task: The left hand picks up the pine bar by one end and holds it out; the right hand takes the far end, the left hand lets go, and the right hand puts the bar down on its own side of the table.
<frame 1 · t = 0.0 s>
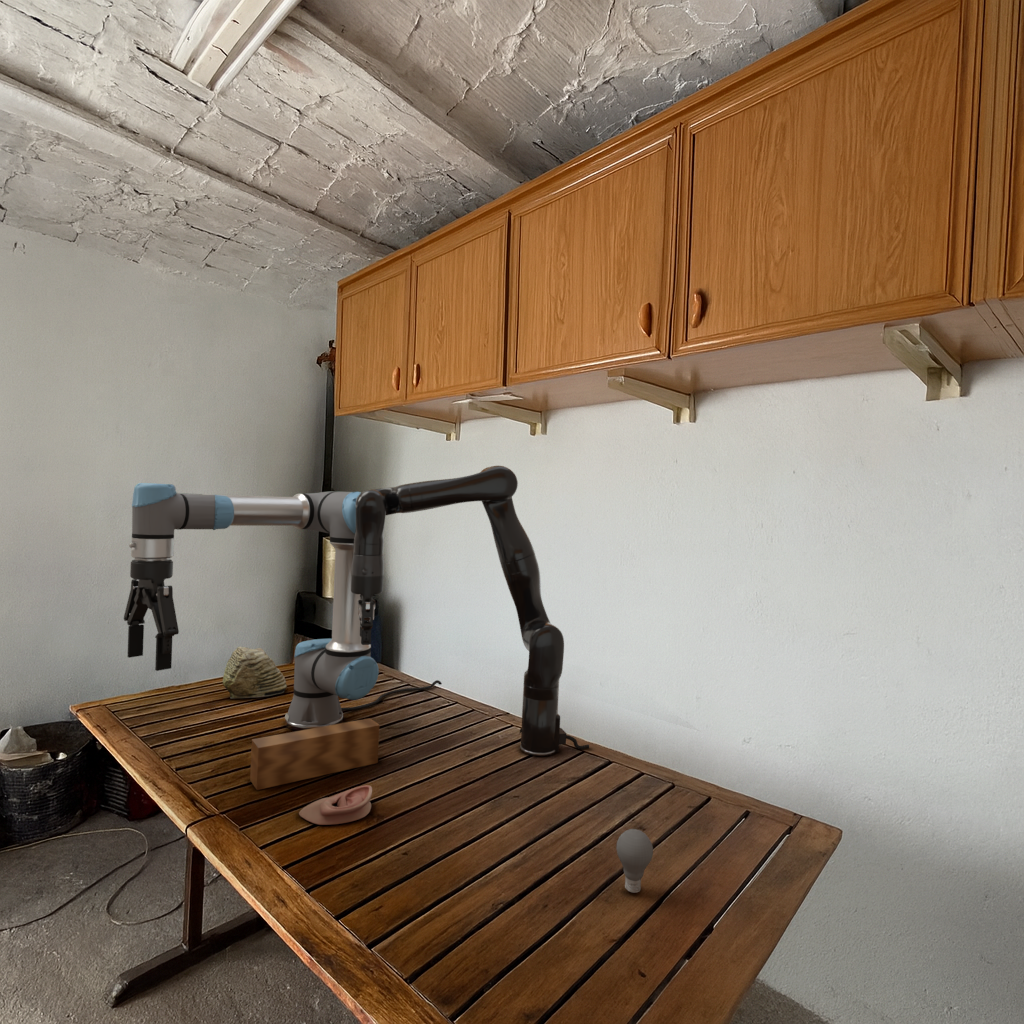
left hand: (148, 662, 129), 28 cm above the table, tool pointing down, fingers open, 13 cm apart
right hand: (365, 640, 152), 29 cm above the table, tool pointing down, fingers open, 8 cm apart
fossil: (254, 694, 198), on the table
bar: (316, 771, 146), on the table
light bulb: (632, 891, 106), on the table
anatomical model: (335, 812, 127), on the table
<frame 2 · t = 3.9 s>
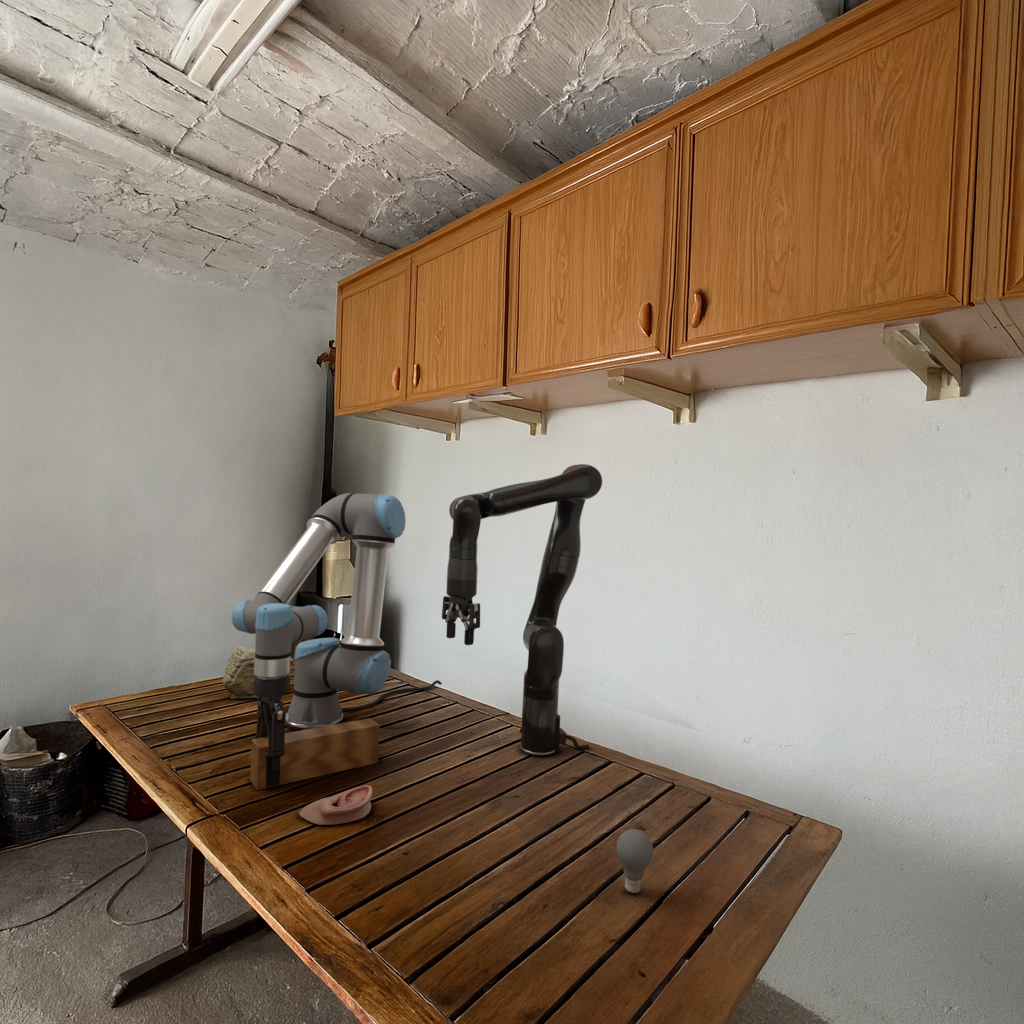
left hand: (268, 779, 140), 1 cm above the table, tool pointing down, fingers closed on bar, 6 cm apart
right hand: (459, 641, 158), 29 cm above the table, tool pointing down, fingers open, 8 cm apart
bar: (316, 771, 146), on the table, touching left hand
everything else where it was.
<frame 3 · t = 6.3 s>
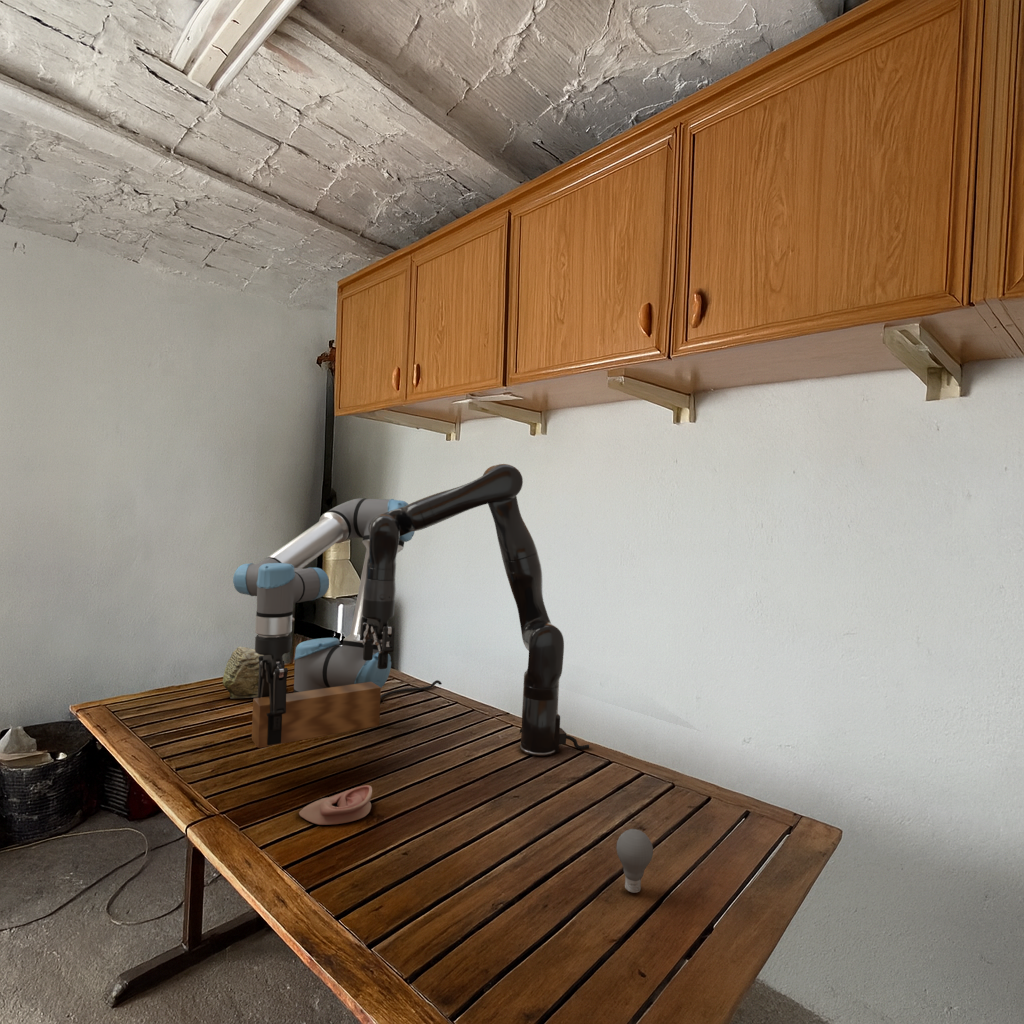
left hand: (270, 738, 139), 10 cm above the table, tool pointing down, fingers closed on bar, 6 cm apart
right hand: (374, 664, 153), 23 cm above the table, tool pointing down, fingers open, 8 cm apart
bar: (318, 732, 146), point 9 cm above the table, touching left hand
everything else where it was.
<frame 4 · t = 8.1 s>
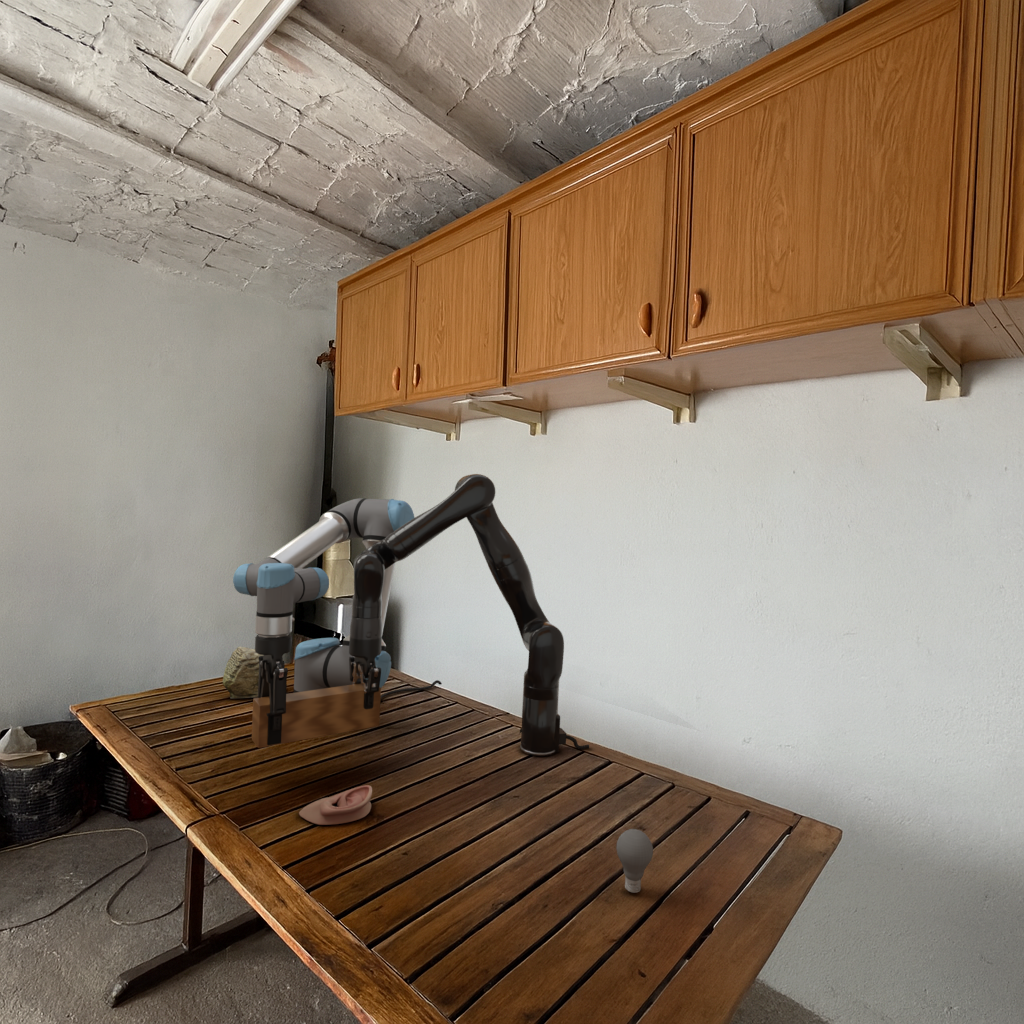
left hand: (270, 738, 139), 10 cm above the table, tool pointing down, fingers closed on bar, 6 cm apart
right hand: (363, 704, 152), 14 cm above the table, tool pointing down, fingers closed on bar, 5 cm apart
bar: (318, 732, 146), point 9 cm above the table, touching left hand, right hand
everything else where it was.
when the left hand's fingers open (10 cm above the table, at t = 9.1 s): bar stays where it is, held by the right hand.
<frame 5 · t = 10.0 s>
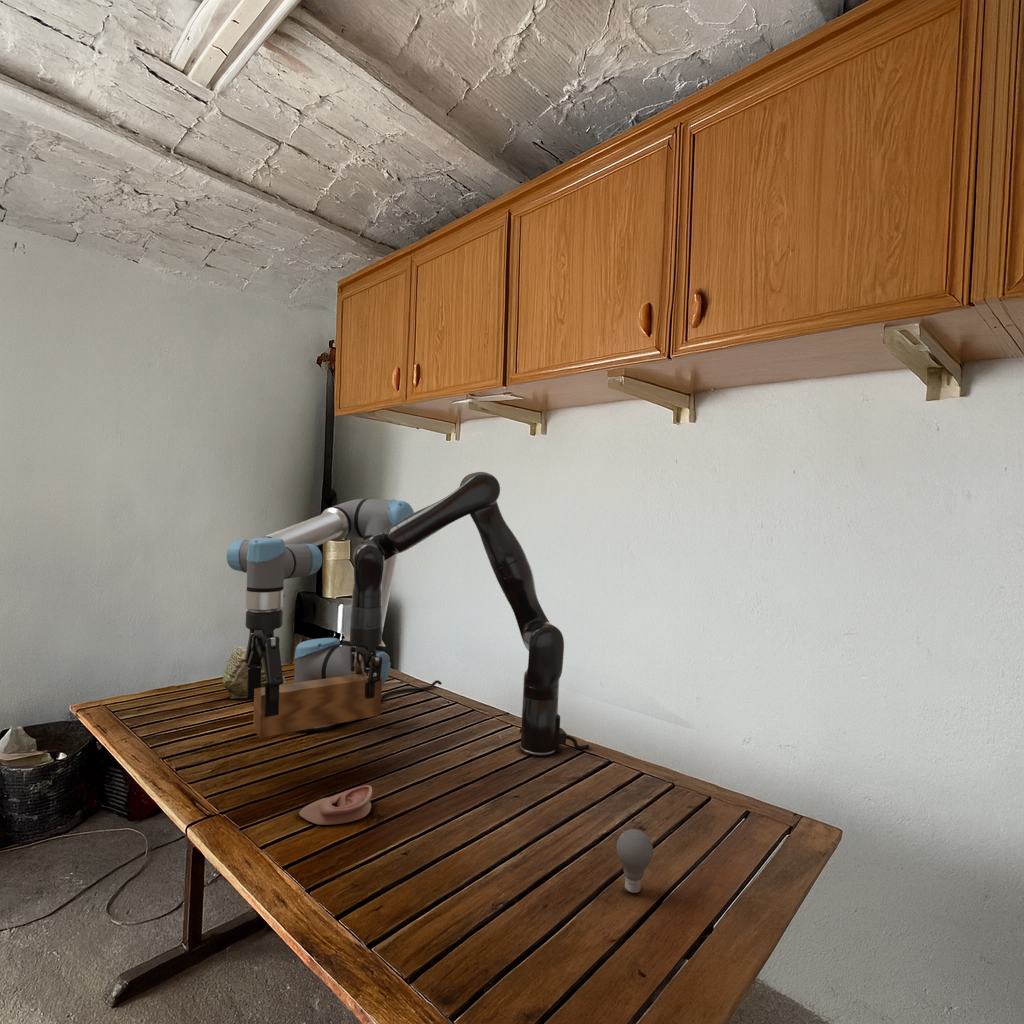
left hand: (262, 706, 138), 17 cm above the table, tool pointing down, fingers open, 13 cm apart
right hand: (364, 694, 152), 16 cm above the table, tool pointing down, fingers closed on bar, 5 cm apart
bar: (319, 722, 146), point 11 cm above the table, touching right hand
everything else where it was.
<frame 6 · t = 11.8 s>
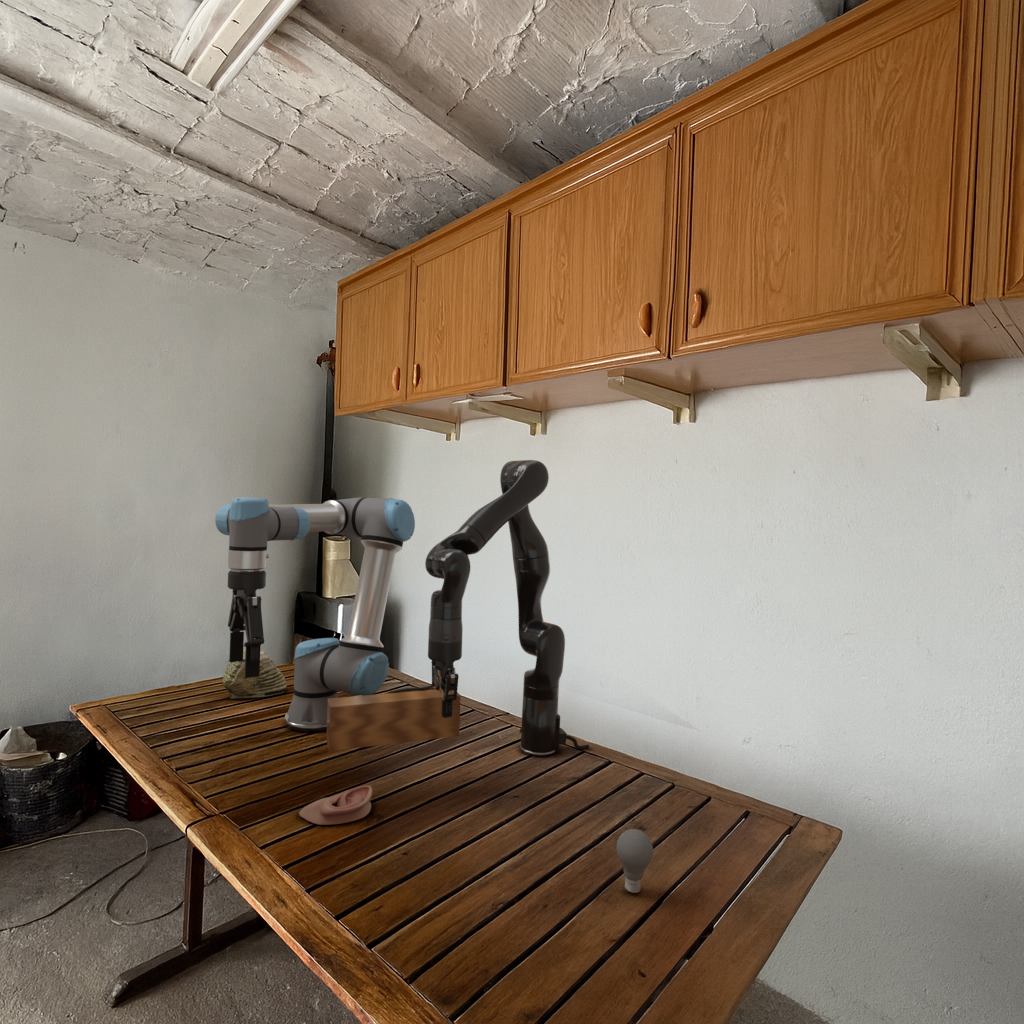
left hand: (243, 668, 136), 26 cm above the table, tool pointing down, fingers open, 13 cm apart
right hand: (443, 712, 141), 16 cm above the table, tool pointing down, fingers closed on bar, 5 cm apart
bar: (394, 738, 137), point 12 cm above the table, touching right hand
everything else where it was.
when the right hand's fingers open (6 cm above the table, at t = 15.3 s): bar drops 2 cm, on the table.
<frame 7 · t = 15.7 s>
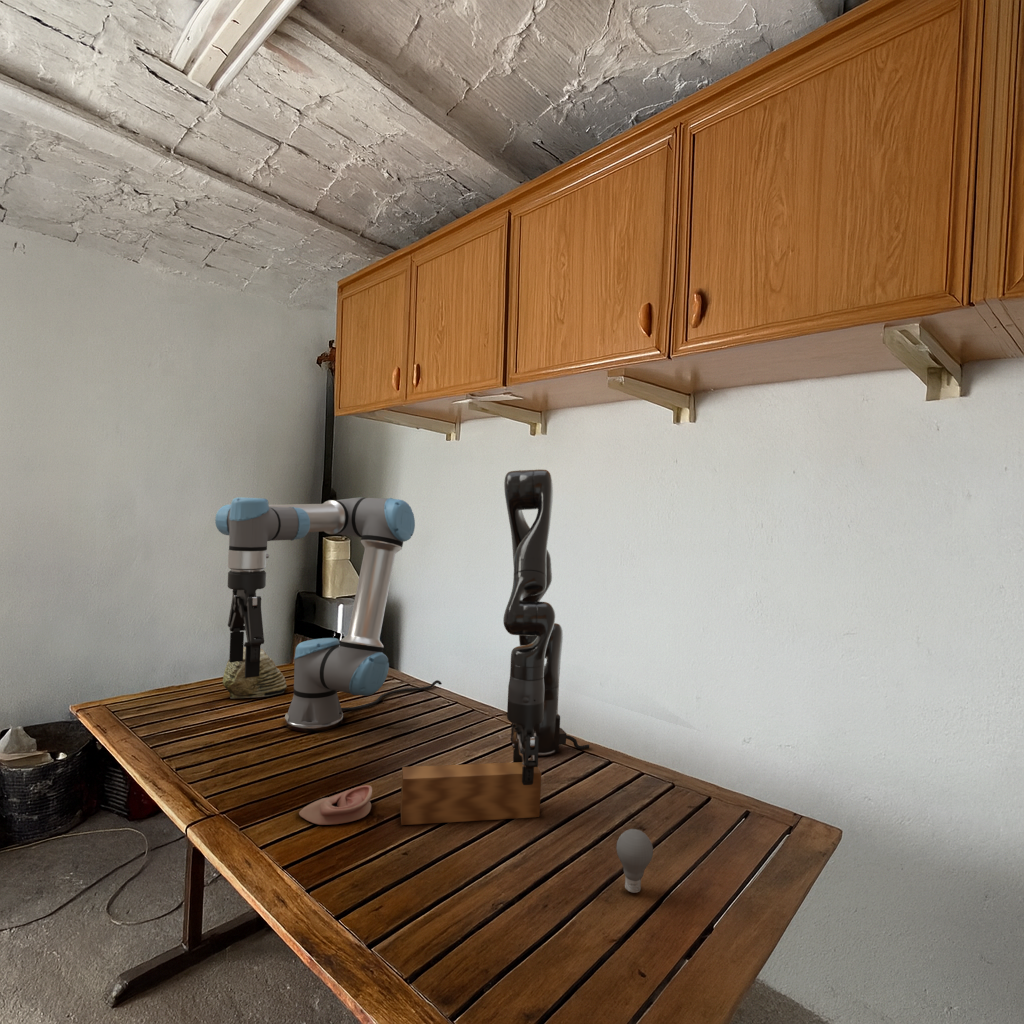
left hand: (243, 668, 136), 26 cm above the table, tool pointing down, fingers open, 13 cm apart
right hand: (522, 775, 131), 8 cm above the table, tool pointing down, fingers open, 8 cm apart
bar: (470, 814, 129), on the table
everything else where it was.
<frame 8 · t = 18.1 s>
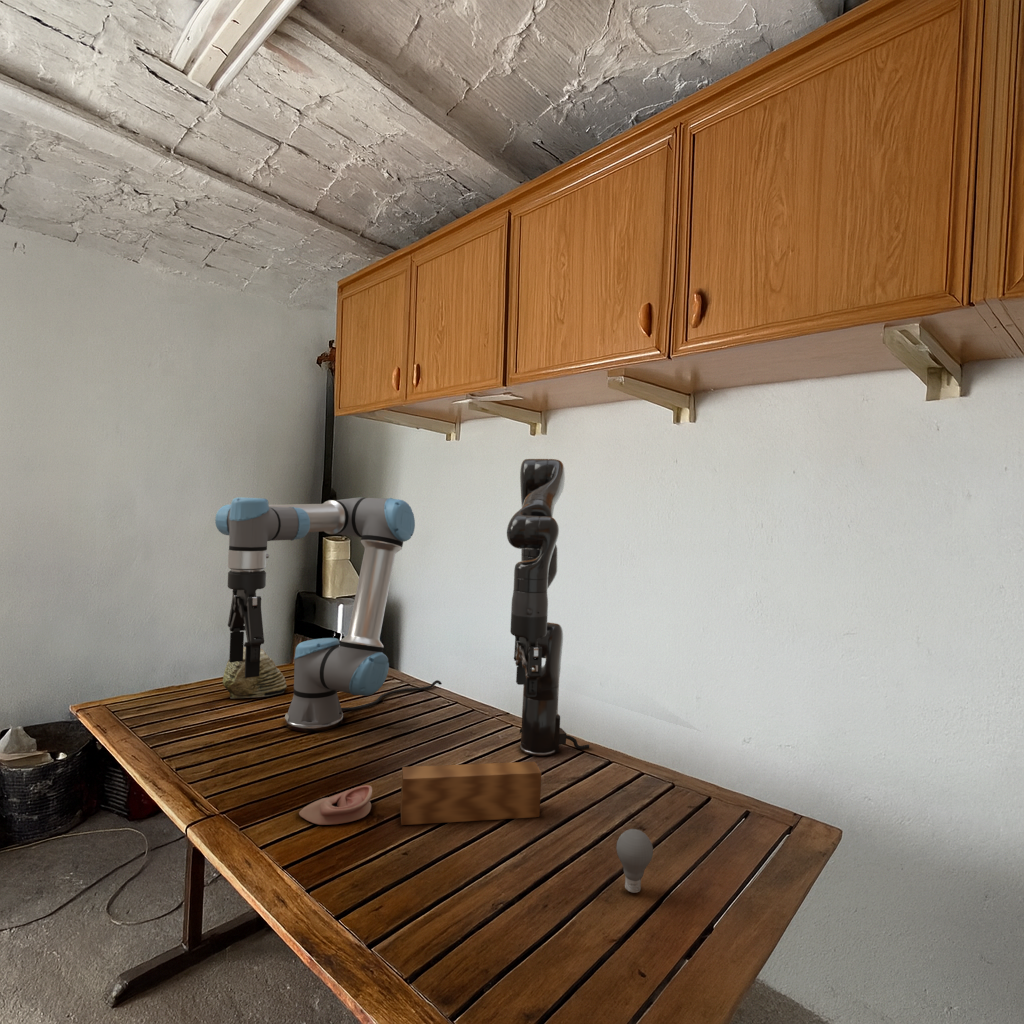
left hand: (243, 668, 136), 26 cm above the table, tool pointing down, fingers open, 13 cm apart
right hand: (525, 690, 131), 25 cm above the table, tool pointing down, fingers open, 8 cm apart
nothing on the table moved.
at the end: bar inside the target area (10.6 cm from its centre), on the table; the left hand is holding nothing; the right hand is holding nothing; bar at rest at the end (0.0 cm/s) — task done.
